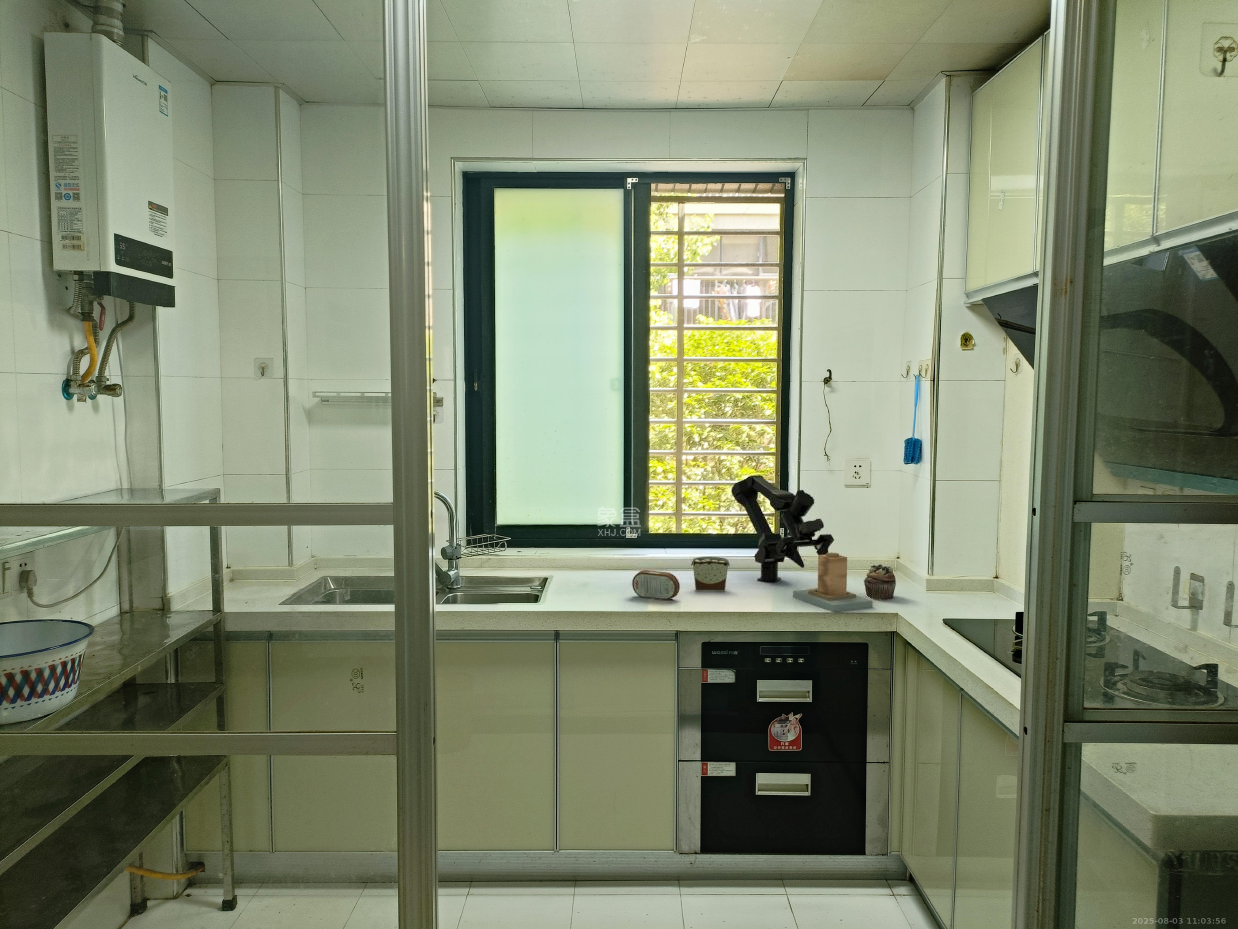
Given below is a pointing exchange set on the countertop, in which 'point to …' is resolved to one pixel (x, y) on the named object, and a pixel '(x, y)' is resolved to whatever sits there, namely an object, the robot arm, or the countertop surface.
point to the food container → (710, 573)
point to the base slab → (833, 600)
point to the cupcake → (880, 582)
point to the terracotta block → (832, 574)
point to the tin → (655, 585)
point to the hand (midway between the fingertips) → (815, 566)
